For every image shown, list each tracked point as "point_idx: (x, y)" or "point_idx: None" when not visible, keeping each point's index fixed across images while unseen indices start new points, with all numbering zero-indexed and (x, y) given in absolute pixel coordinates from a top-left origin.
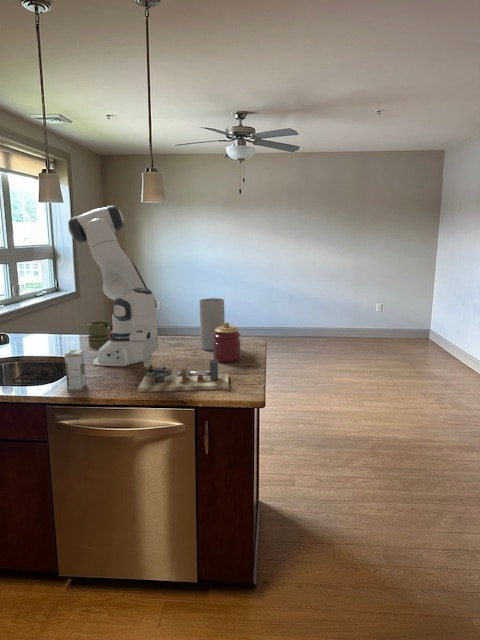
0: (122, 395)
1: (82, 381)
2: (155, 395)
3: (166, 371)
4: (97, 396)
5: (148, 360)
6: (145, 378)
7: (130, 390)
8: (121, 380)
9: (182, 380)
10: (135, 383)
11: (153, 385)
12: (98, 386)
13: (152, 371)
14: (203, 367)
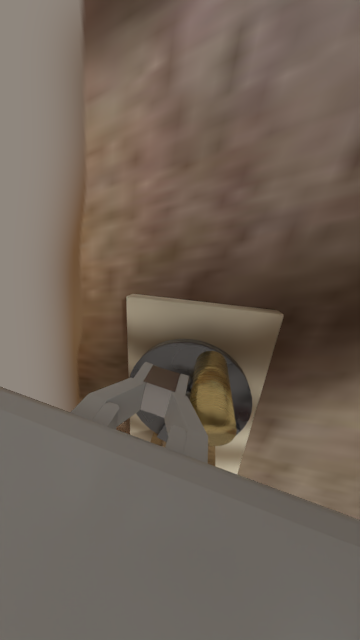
0: (100, 237)
1: None
2: (100, 347)
3: (160, 429)
4: (88, 110)
5: (117, 420)
6: (240, 320)
7: (149, 261)
8: (306, 187)
9: (151, 439)
10: (232, 272)
11: (146, 350)
12: (235, 46)
13: (189, 375)
14: (346, 503)
